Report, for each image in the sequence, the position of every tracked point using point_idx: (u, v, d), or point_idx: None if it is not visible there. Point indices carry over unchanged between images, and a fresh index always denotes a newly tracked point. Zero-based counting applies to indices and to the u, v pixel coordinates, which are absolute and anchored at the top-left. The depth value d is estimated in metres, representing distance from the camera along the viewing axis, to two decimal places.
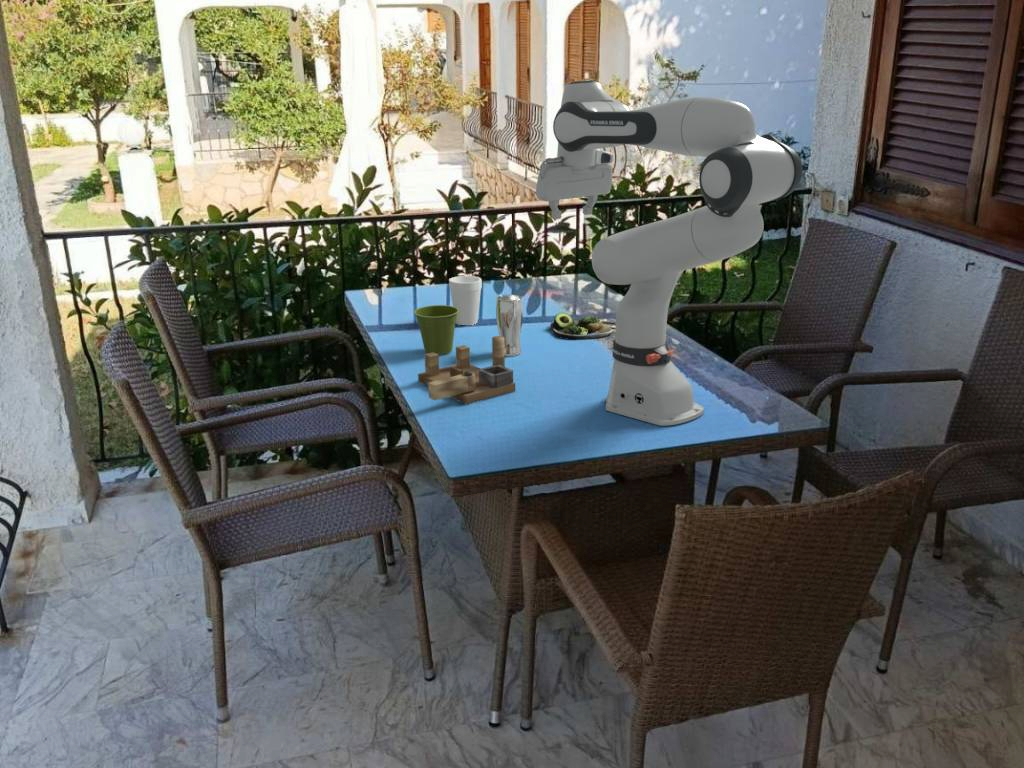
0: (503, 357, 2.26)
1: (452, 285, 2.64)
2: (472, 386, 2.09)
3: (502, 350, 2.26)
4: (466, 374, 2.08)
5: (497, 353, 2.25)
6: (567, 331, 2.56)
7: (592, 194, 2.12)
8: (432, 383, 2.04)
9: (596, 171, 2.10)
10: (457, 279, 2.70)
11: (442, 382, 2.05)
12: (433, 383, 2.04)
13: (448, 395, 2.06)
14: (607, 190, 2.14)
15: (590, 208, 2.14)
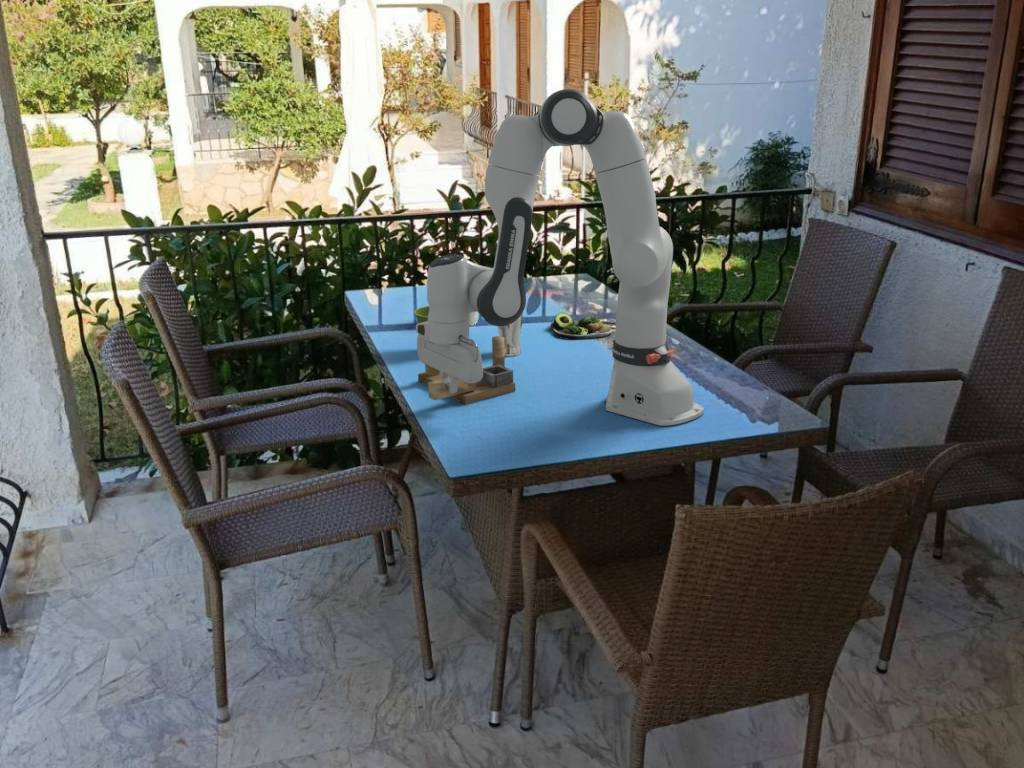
0: (503, 357, 2.26)
1: None
2: (472, 386, 2.09)
3: (502, 350, 2.26)
4: None
5: (497, 353, 2.25)
6: (567, 331, 2.56)
7: None
8: (432, 383, 2.04)
9: None
10: None
11: (442, 382, 2.05)
12: (433, 383, 2.04)
13: (448, 395, 2.06)
14: None
15: None
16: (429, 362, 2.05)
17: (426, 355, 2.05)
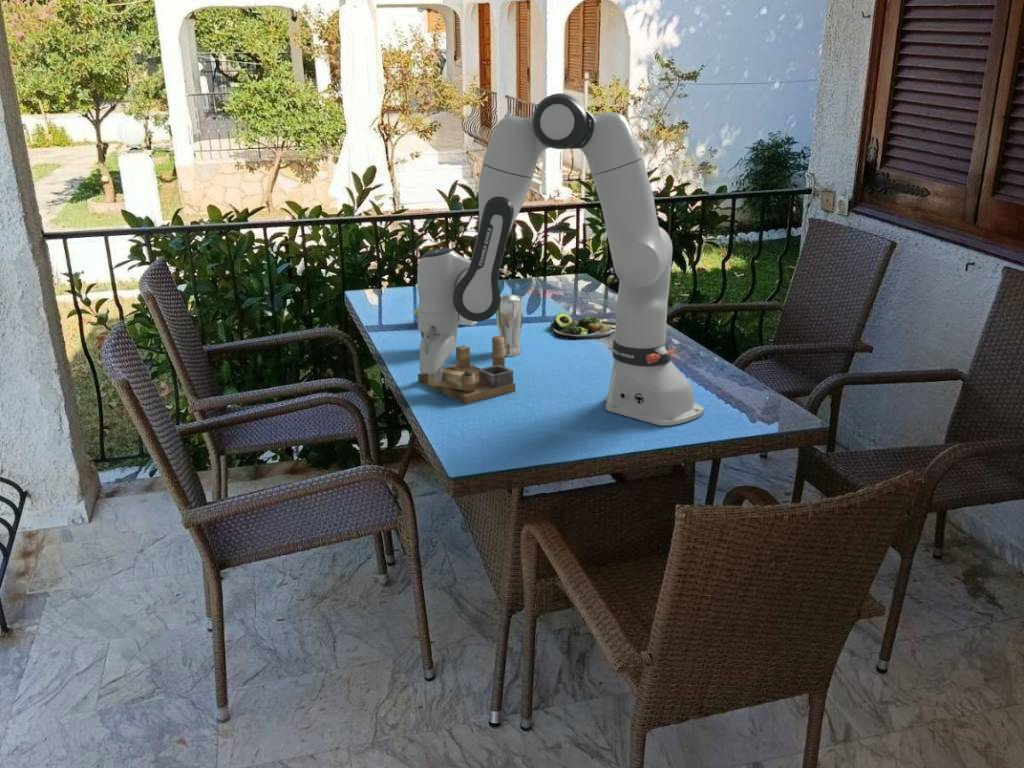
0: (503, 357, 2.26)
1: None
2: (465, 386, 2.09)
3: (502, 350, 2.26)
4: (464, 373, 2.09)
5: (497, 353, 2.25)
6: (567, 331, 2.56)
7: (449, 354, 2.13)
8: None
9: None
10: None
11: None
12: None
13: (441, 385, 2.12)
14: (454, 346, 2.17)
15: (442, 374, 2.10)
16: None
17: None
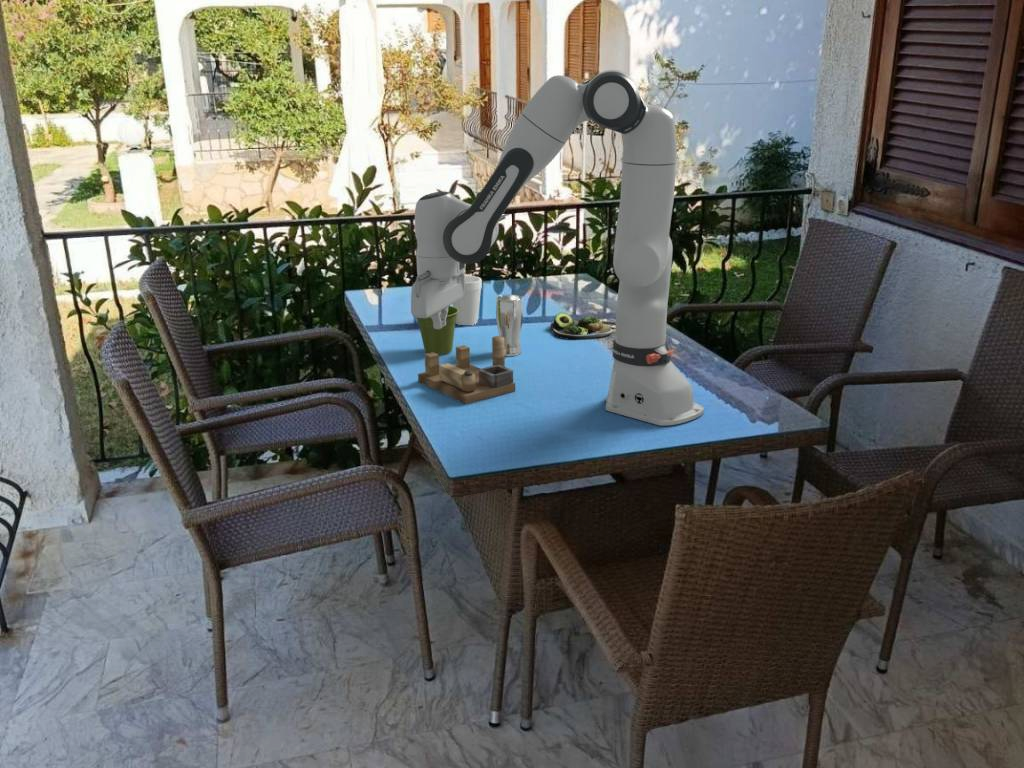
0: (503, 357, 2.26)
1: None
2: (463, 385, 2.09)
3: (502, 350, 2.26)
4: None
5: (498, 353, 2.25)
6: (567, 331, 2.56)
7: (453, 302, 2.10)
8: (445, 364, 2.16)
9: (454, 278, 2.08)
10: None
11: (447, 367, 2.14)
12: (444, 364, 2.16)
13: (448, 381, 2.14)
14: (462, 295, 2.13)
15: (444, 320, 2.08)
16: None
17: None
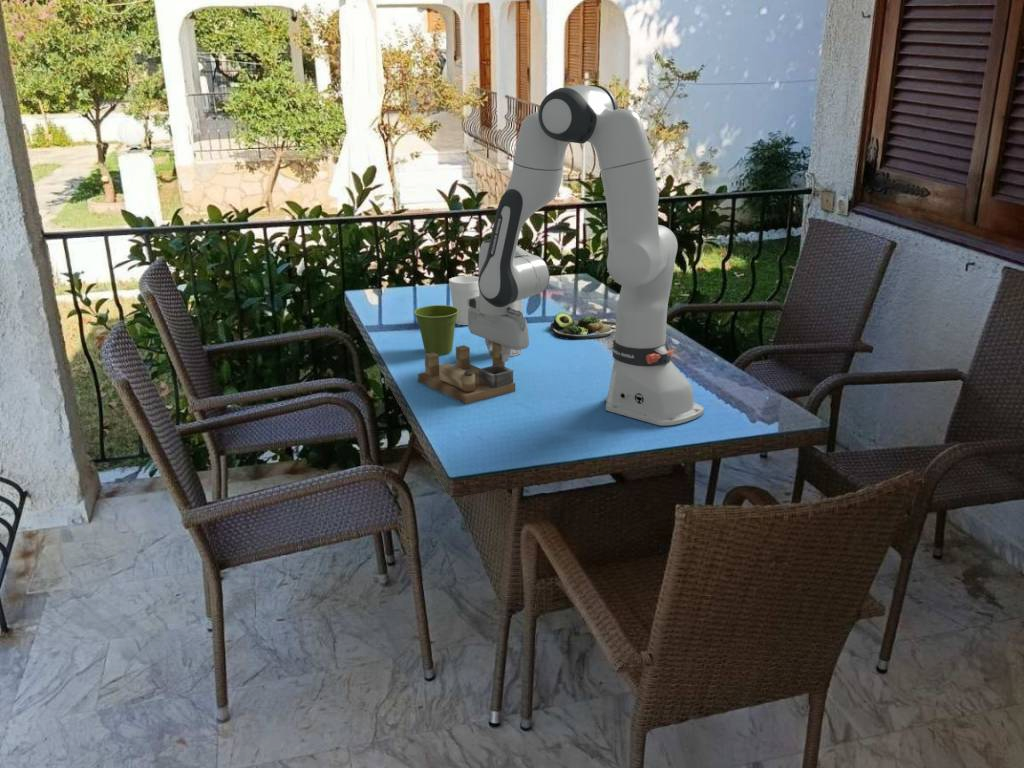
0: None
1: (452, 285, 2.64)
2: (463, 385, 2.09)
3: (502, 350, 2.26)
4: None
5: (497, 353, 2.25)
6: (567, 331, 2.56)
7: None
8: (445, 364, 2.16)
9: None
10: (457, 279, 2.70)
11: (447, 367, 2.14)
12: (444, 364, 2.16)
13: (448, 381, 2.14)
14: None
15: None
16: (479, 333, 2.28)
17: (476, 326, 2.29)
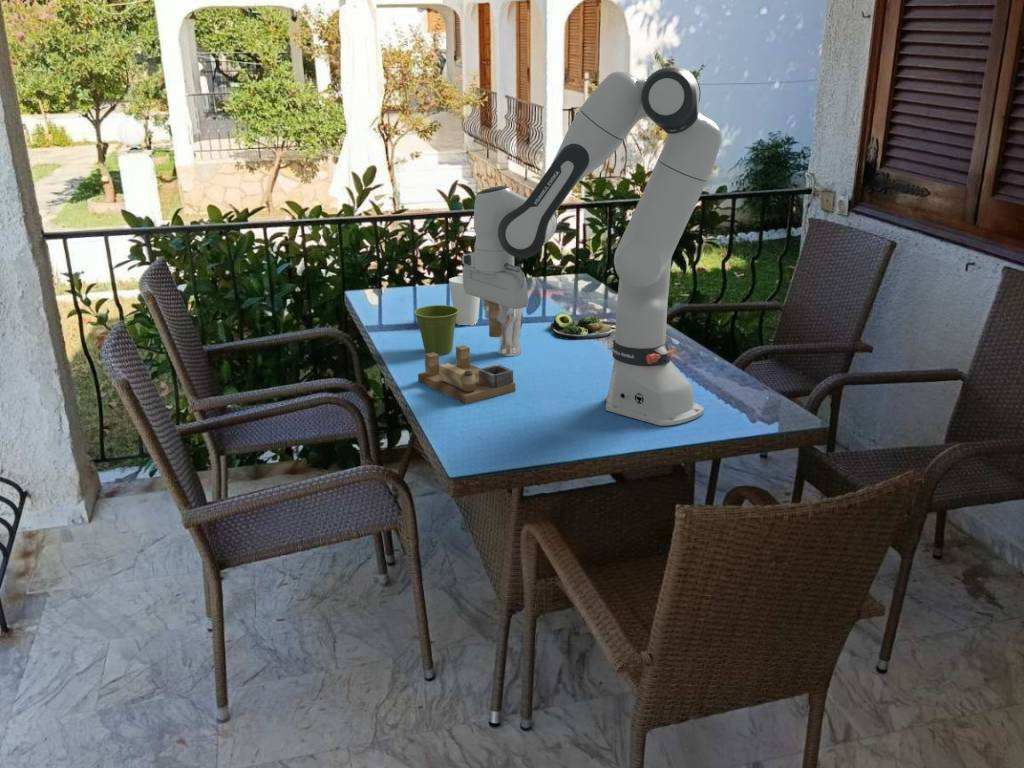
0: None
1: (452, 285, 2.64)
2: (463, 385, 2.09)
3: (499, 310, 2.09)
4: None
5: (494, 314, 2.09)
6: (567, 331, 2.56)
7: None
8: (445, 364, 2.16)
9: None
10: (457, 279, 2.70)
11: (447, 367, 2.14)
12: (444, 364, 2.16)
13: (448, 381, 2.14)
14: None
15: None
16: (475, 292, 2.12)
17: (472, 285, 2.13)
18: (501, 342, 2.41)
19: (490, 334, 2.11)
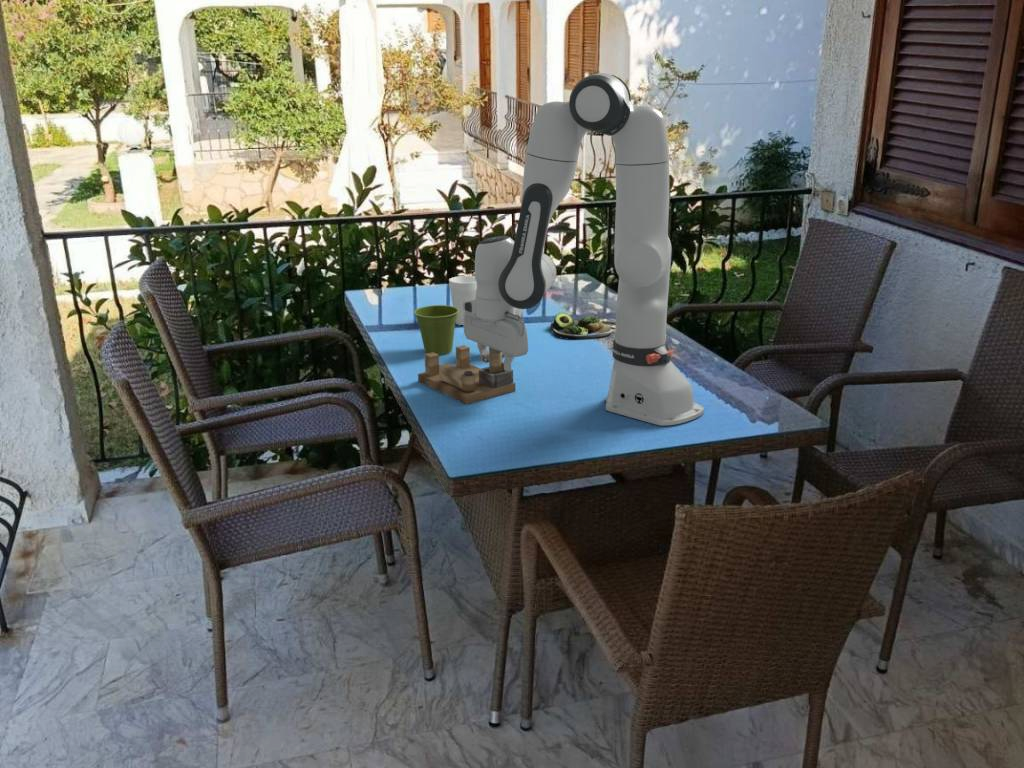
0: (501, 366, 2.14)
1: (452, 285, 2.64)
2: (463, 385, 2.09)
3: (500, 359, 2.13)
4: None
5: (495, 362, 2.13)
6: (567, 331, 2.56)
7: None
8: (445, 364, 2.16)
9: None
10: (457, 279, 2.70)
11: (447, 367, 2.14)
12: (444, 364, 2.16)
13: (448, 381, 2.14)
14: None
15: None
16: (475, 338, 2.16)
17: (472, 331, 2.16)
18: None
19: None
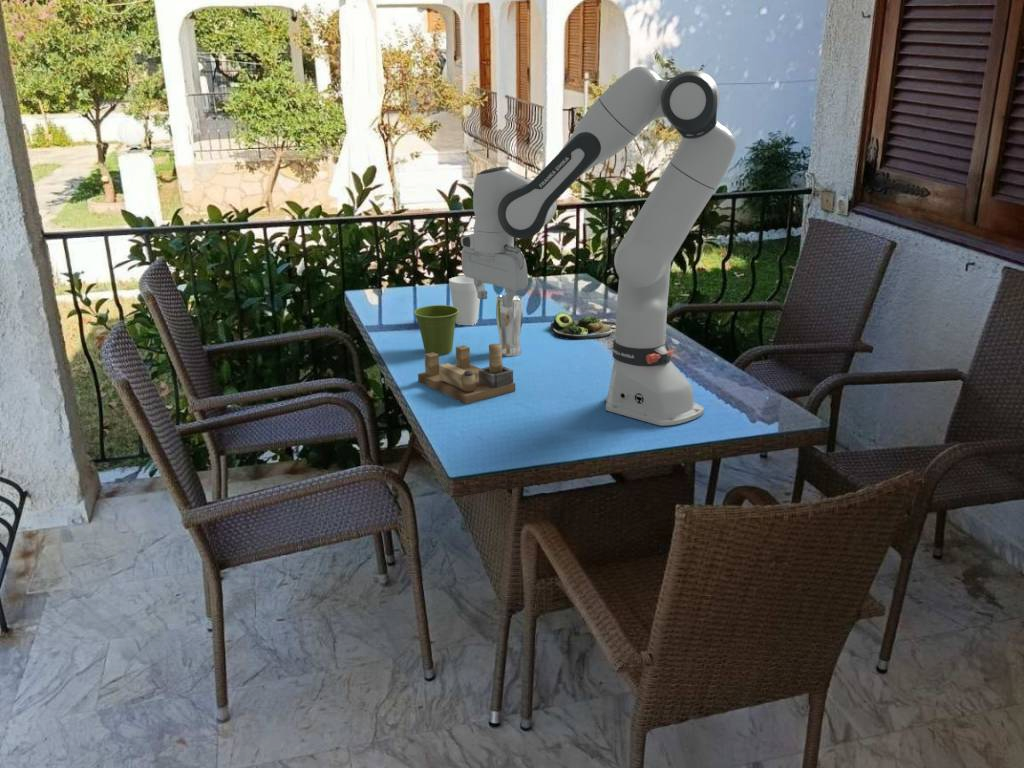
0: (501, 366, 2.14)
1: (452, 285, 2.64)
2: (463, 385, 2.09)
3: (500, 359, 2.13)
4: None
5: (495, 362, 2.13)
6: (567, 331, 2.56)
7: None
8: (445, 364, 2.16)
9: None
10: (457, 279, 2.70)
11: (447, 367, 2.14)
12: (444, 364, 2.16)
13: (448, 381, 2.14)
14: None
15: None
16: (474, 275, 2.10)
17: (471, 268, 2.11)
18: (501, 342, 2.41)
19: None
